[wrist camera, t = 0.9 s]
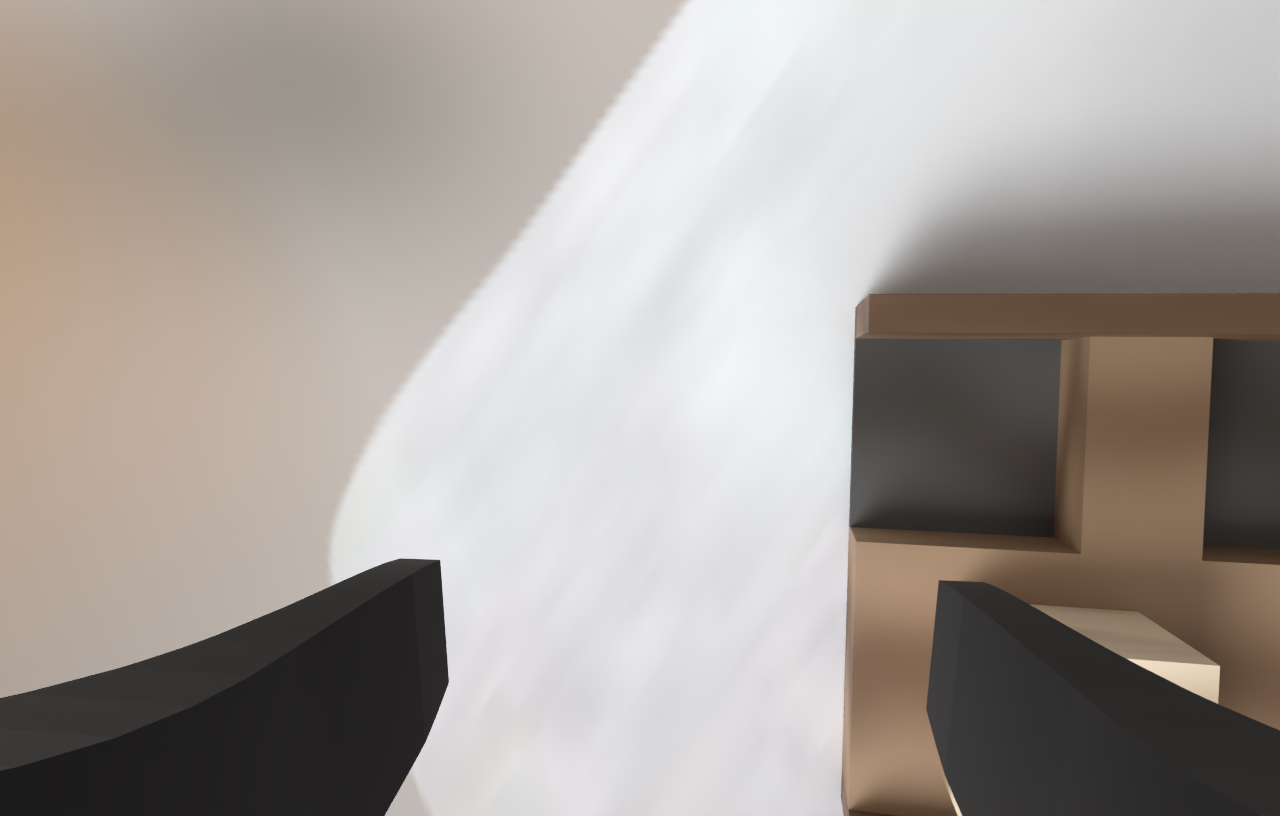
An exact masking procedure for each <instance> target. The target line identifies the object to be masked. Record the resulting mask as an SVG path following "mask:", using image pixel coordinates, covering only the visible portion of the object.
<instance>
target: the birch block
mask: <svg viewBox="0 0 1280 816" xmlns="http://www.w3.org/2000/svg"><path fill="white" fill-rule="evenodd" d="M1030 605H1031V606H1033V607H1035V608H1037V609H1038V610H1040V611H1042V612H1044V613H1045V614H1047V615H1049V616H1051V617H1052V618H1054V619H1056V620H1058V621H1059V622H1061V623H1063V624H1065V625H1066V626H1068V627H1070V628H1072V629H1073V630H1075V631H1077V632H1079V633H1080V634H1082V635H1084V636H1086V637H1088V638H1089V639H1091V640H1093V641H1095V642H1096V643H1098V644H1100V645H1102V646H1104V647H1106V648H1107V649H1109V650H1111V651H1113V652H1115V653H1117V654H1118V655H1120V656H1122V657H1124V658H1126V659H1128V660H1130V661H1132V662H1133V663H1135V664H1137V665H1139V666H1141V667H1143V668H1145V669H1147V670H1149V671H1151V672H1153V673H1155V674H1157V675H1159V676H1161V677H1163V678H1165V679H1167V680H1169V681H1171V682H1173V683H1175V684H1177V685H1179V686H1181V687H1183V688H1185V689H1187V690H1189V691H1191V692H1193V693H1195V694H1197V695H1200V696H1202V697H1204V698H1206V699H1208V700H1210V701H1212V702H1215V703H1217V704H1218V696H1219V677H1220V666H1219V665H1218V664H1216V663H1215V662H1213V661H1212V660H1210V659H1209V658H1207V657H1206V656H1204V655H1203V654H1201V653H1200V652H1198V651H1197V650H1195V649H1194V648H1192V647H1191V646H1189V645H1188V644H1186V643H1185V642H1183V641H1182V640H1180V639H1179V638H1177V637H1176V636H1174V635H1173V634H1171V633H1170V632H1168V631H1167V630H1165V629H1164V628H1162V627H1161V626H1159V625H1158V624H1156V623H1155V622H1153V621H1152V620H1150V619H1149V618H1147V617H1146V616H1144V615H1143V614H1141V613H1140V612H1137V611H1122V610H1107V609H1092V608H1077V607H1062V606H1047V605H1033V604H1030ZM939 770H940V772H941V775H942V778H943V780H944V783H945V785H946V788H947V790H948V793H949V795H950V798H951V800H952V803H953V805H954V808H955V810H956V813H957V815H958V816H962V814H961V812H960V810H959V807H958V805H957V803H956V800H955V798H954V796H953V793H952V791H951V789H950V786H949V784H948V781H947V779H946V777H945V774H944V771H943V767H942V764H941V761H940V766H939Z"/></svg>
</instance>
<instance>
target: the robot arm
mask: <svg viewBox="0 0 1280 816" xmlns="http://www.w3.org/2000/svg"><path fill="white" fill-rule="evenodd" d="M448 683H449V679H448V665H447V651H446V637H445V623H444V608H443V594H442V580H441V566H440V560H423V559H398V560H394V561H390V562H387V563H384V564H382V565H379V566H376V567H374V568H371V569H369V570H367V571H364V572H362V573H360V574H357V575H355V576H353V577H351V578H348V579H346V580H344V581H342V582H339V583H337V584H335V585H333V586H331V587H329V588H326V589H324V590H322V591H319V592H318V593H315V594H313V595H311V596H308V597H306V598H304V599H302V600H300V601H297V602H295V603H293V604H291V605H289V606H286V607H284V608H282V609H279V610H277V611H274V612H272V613H269V614H267V615H264V616H262V617H260V618H257V619H255V620H252V621H250V622H248V623H246V624H243V625H240V626H238V627H236V628H233V629H231V630H228V631H226V632H223V633H221V634H219V635H216V636H214V637H211V638H208V639H206V640H203V641H200V642H197V643H194V644H192V645H189V646H186V647H183V648H181V649H177V650H174V651H171V652H169V653H165V654H162V655H159V656H156V657H153V658H150V659H147V660H144V661H141V662H138V663H134V664H131V665H128V666H125V667H122V668H118V669H115V670H111V671H107V672H103V673H99V674H95V675H91V676H88V677H84V678H80V679H76V680H73V681H69V682H65V683H61V684H58V685H54V686H50V687H46V688H42V689H38V690H35V691H31V692H27V693H22V694H18V695H13V696H8V697H4V698H0V816H384V815H385V814H386V812H387V810H388V808H389V807H390V805H391V803H392V801H393V799H394V798H395V796H396V794H397V792H398V791H399V789H400V787H401V785H402V783H403V782H404V780H405V778H406V776H407V775H408V773H409V771H410V769H411V767H412V766H413V764H414V762H415V760H416V758H417V757H418V755H419V753H420V751H421V749H422V747H423V746H424V744H425V742H426V739H427V737H428V735H429V732H430V730H431V727H432V725H433V722H434V720H435V718H436V715H437V712H438V710H439V707H440V704H441V702H442V699H443V696H444V694H445V691H446V688H447V686H448ZM926 710H927V714H928V718H929V722H930V725H931V729H932V733H933V736H934V740H935V744H936V747H937V751H938V754H939V757H940V761H941V764H942V767H943V771H944V774H945V777H946V779H947V781H948V784H949V786H950V789H951V791H952V793H953V796H954V798H955V800H956V803H957V805H958V807H959V810H960V812H961V814H962V816H1280V730H1277V729H1275V728H1273V727H1270V726H1268V725H1266V724H1263V723H1261V722H1259V721H1256V720H1254V719H1252V718H1249V717H1247V716H1245V715H1242V714H1240V713H1238V712H1235V711H1233V710H1231V709H1228V708H1226V707H1224V706H1221V705H1219V704H1217V703H1215V702H1212V701H1210V700H1208V699H1206V698H1204V697H1202V696H1200V695H1197V694H1195V693H1193V692H1191V691H1189V690H1187V689H1185V688H1183V687H1181V686H1179V685H1177V684H1175V683H1173V682H1171V681H1169V680H1167V679H1165V678H1163V677H1161V676H1159V675H1157V674H1155V673H1153V672H1151V671H1149V670H1147V669H1145V668H1143V667H1141V666H1139V665H1137V664H1135V663H1133V662H1132V661H1130V660H1128V659H1126V658H1124V657H1122V656H1120V655H1118V654H1117V653H1115V652H1113V651H1111V650H1109V649H1107V648H1106V647H1104V646H1102V645H1100V644H1098V643H1096V642H1095V641H1093V640H1091V639H1089V638H1088V637H1086V636H1084V635H1082V634H1080V633H1079V632H1077V631H1075V630H1073V629H1072V628H1070V627H1068V626H1066V625H1065V624H1063V623H1061V622H1059V621H1058V620H1056V619H1054V618H1052V617H1051V616H1049V615H1047V614H1045V613H1044V612H1042V611H1040V610H1038V609H1037V608H1035V607H1033V606H1031V605H1030V604H1028V603H1026V602H1024V601H1022V600H1021V599H1019V598H1017V597H1015V596H1013V595H1011V594H1009V593H1008V592H1006V591H1004V590H1002V589H1000V588H997V587H995V586H993V585H990V584H988V583H985V582H970V581H945V580H939V583H938V593H937V604H936V614H935V624H934V634H933V644H932V654H931V665H930V675H929V685H928V695H927V705H926Z"/></svg>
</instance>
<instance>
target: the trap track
mask: <svg viewBox="0 0 1280 816" xmlns="http://www.w3.org/2000/svg"><path fill="white" fill-rule="evenodd" d="M939 580H945V581H970V582H985V583H988V584H990V585H993V586H995V587H997V588H1000V589H1002V590H1004V591H1006V592H1008V593H1009V594H1011V595H1013V596H1015V597H1017V598H1019V599H1021V600H1022V601H1024V602H1026V603H1028V604H1033V605H1047V606H1062V607H1077V608H1092V609H1107V610H1122V611H1137V612H1140V613H1141V614H1143V615H1144V616H1146V617H1147V618H1149V619H1150V620H1152V621H1153V622H1155V623H1156V624H1158V625H1159V626H1161V627H1162V628H1164V629H1165V630H1167V631H1168V632H1170V633H1171V634H1173V635H1174V636H1176V637H1177V638H1179V639H1180V640H1182V641H1183V642H1185V643H1186V644H1188V645H1189V646H1191V647H1192V648H1194V649H1195V650H1197V651H1198V652H1200V653H1201V654H1203V655H1204V656H1206V657H1207V658H1209V659H1210V660H1212V661H1213V662H1215V663H1216V664H1218V665H1219V666H1220V677H1219V696H1218V704H1219V705H1221V706H1224V707H1226V708H1228V709H1231V710H1233V711H1235V712H1238V713H1240V714H1242V715H1245V716H1247V717H1249V718H1252V719H1254V720H1256V721H1259V722H1261V723H1263V724H1266V725H1268V726H1270V727H1273V728H1275V729H1277V730H1280V294H870V295H869V296H867V297H866V298H865V299H864V300H863V301H862V302H861V303H860V304H859V305H858V306H857V307H856V316H855V350H854V383H853V417H852V451H851V484H850V518H849V552H848V586H847V619H846V653H845V687H844V720H843V754H842V788H841V799H842V806H843V814H844V816H958V815H957V813H956V810H955V808H954V805H953V803H952V800H951V798H950V795H949V793H948V790H947V788H946V785H945V783H944V780H943V778H942V775H941V772H940V770H939V766H940V757H939V754H938V751H937V747H936V744H935V740H934V736H933V733H932V729H931V725H930V722H929V718H928V714H927V710H926V705H927V695H928V685H929V675H930V665H931V654H932V644H933V634H934V624H935V614H936V604H937V593H938V583H939Z"/></svg>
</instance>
